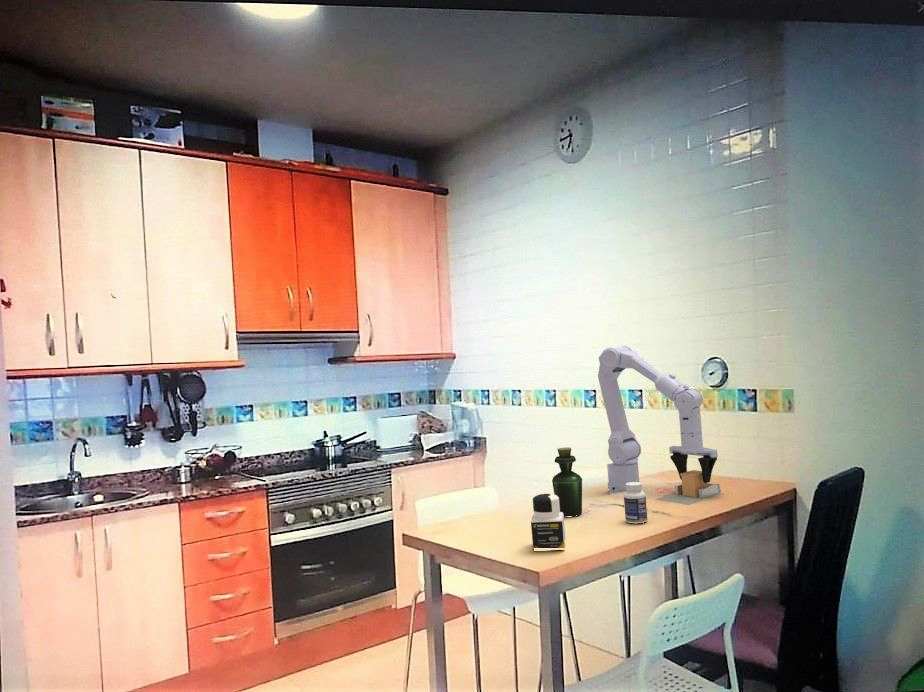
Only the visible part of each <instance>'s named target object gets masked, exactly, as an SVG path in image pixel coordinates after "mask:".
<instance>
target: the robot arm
mask: <svg viewBox="0 0 924 692" xmlns="http://www.w3.org/2000/svg"><path fill="white" fill-rule="evenodd" d="M598 361H599V367H598V373H597V378H598V383H599V386H600V391H601V395H602V399H603V404H604V408H605V411H606V416H607V421H608V424H609V429H610V435H609V437H608V439H607V443H608V448H607V449H608V450H607V455H608V457H609V459H610V460H611V462H612V463H607V464H606V468H607V480H608V482H607V489H608V490H609V495H614V494H617V493H620V492H626V491H627V490H626V483H629V482H640V473H639V472H640V471H639V470H640V469H639V457H640V455H641V453H642V447H641V444H640V443H639V441H638V440H637V437H636V434H635V433H634V432H633V431H632V430H631V429H630V428H629V427H630V426H629V423H628V419H627V415H626V411H625V406H624V403H623V402H624V401H623V398H622V395H621V391H620V390H621V389H620V385H619V382H618V378H619V376H620V375H621V374H622V372H623V371H624V370H626V369H632V370H634V371H636V372H638V373H639V374H640V375H641V376H642V377H644V378H647V379H648V380H649V381H650V382H652V383H654V387H655V389H656V390H657V391H659V392H660V394H662V395H663V396H665V397H666V398H668V399H669V400H670V401H672V402H673V405H674V407H675V408H676V409H677V411H678V417H679V418H678V419H679V429H680V443H681V445H671V446H669V447H668V448H669V454H672V455H670V458H669V459H670V460H671V461H672V463H673V464H674V466H675V468H676V470H677V473H678V476H679V479H680V481H682V478H681V475H680V474H681V473H684V472H688V468H687V467H688V457H689V456H698V458H697V459H698V460H697V461H698V463H699V465H700V468H701V469H700V470H701V471H702V477H703V482H704V483H711V479H712V478H711V477H712V474H713V473H712V472H713V469H714V467H715V464H716V462H717V460H718V455H719V454H718V449H714V448H708V447H704V440H703V430H702V429H703V427H702V419H701V418H702V417H701V408H700V407H701V406H702V404H703V399H704V398H703V395H702V394H701V392H700V391H699V390H698V389H696V388H689V385H688V384H684V383H683V382H681V381H680V380H679V379H677V378H676V377H677V376H676V375H675V374H673V373H662V372H661V371H659V370H658V369H657V368H655V366H653V365H652V364H651V363H649V362H648V361H647V360H645V359H644V358H643V357H641V355H640V354H639V353H638V352H637V351H635V350H632V349H631V348H630V347H629V346H626V345H623V346H617V347H607V348H605V349H603V351H602V352H601V354H600V355H599V356H598ZM640 483H641V482H640Z"/></svg>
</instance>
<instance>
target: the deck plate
mask: <svg viewBox="0 0 924 692" xmlns="http://www.w3.org/2000/svg"><path fill="white" fill-rule="evenodd" d="M724 494H725V493H724V492H720V494H716V495H713V496H710V497H707V498H704V499H701V498H696V497H689V496H683V495H675V493H672V494H669V495H666V496H661V497H659V498H655V500H656V501H663V502H667V503H668V502H669V503H674V504H681V505H687V506H689V505H693V504H696V503H698V502H699V503H700V502H702V501H705V500H710V499H712V498H715V497H718V496H721V495H724Z"/></svg>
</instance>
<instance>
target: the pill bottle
mask: <svg viewBox="0 0 924 692" xmlns="http://www.w3.org/2000/svg"><path fill="white" fill-rule="evenodd" d="M642 485H643V484H642V482H629V483H626V490H627V491H624V493H623V503H624V515H625V517H624V518H625V522H626V523H627V522H628V523H627V524H629V523H636V524H635V525H638V524H637V523H643V524H645V523H644V522H646V523H647V522H648V510H647V498H646V496H647V495H646V493H645V492H644V491H643V486H642Z"/></svg>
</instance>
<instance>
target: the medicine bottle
mask: <svg viewBox="0 0 924 692" xmlns="http://www.w3.org/2000/svg"><path fill="white" fill-rule="evenodd" d="M532 508H533V513H532V517H531V521H530V528H531V538H532V539H531V540H532V549H533V548H565V549H566V543H565V540H566V541H567V539H566V531H565V530H566V529H565V519H564V518H565V517H564V515H563V512H560V506H559V497H558V496H557V495H554V493H542V494H541V493H540V494H537V495H536V496H533V498H532Z"/></svg>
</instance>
